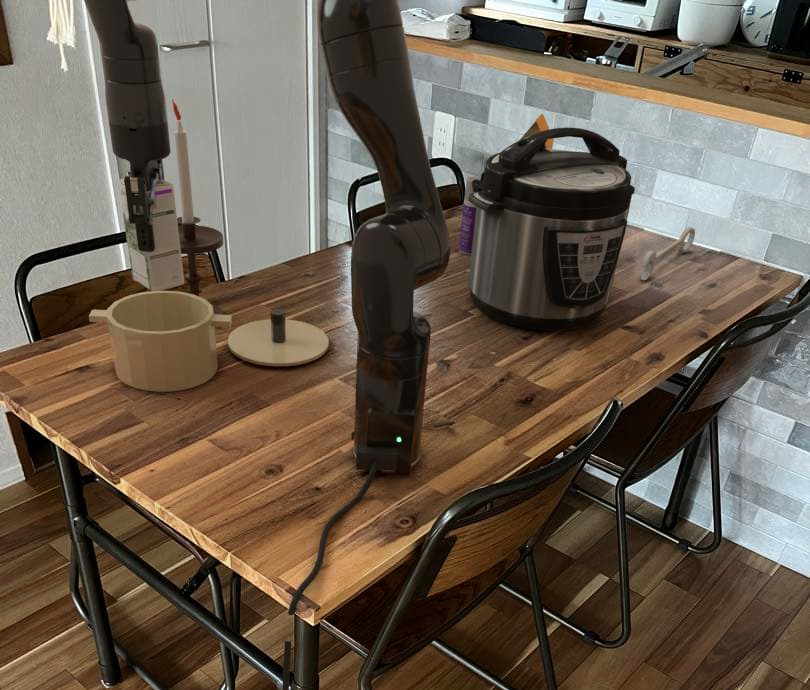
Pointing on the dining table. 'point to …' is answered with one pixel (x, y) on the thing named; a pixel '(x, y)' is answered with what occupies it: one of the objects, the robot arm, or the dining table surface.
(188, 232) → the candlestick
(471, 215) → the container
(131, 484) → the dining table surface
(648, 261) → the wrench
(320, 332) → the lid
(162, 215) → the syrup box
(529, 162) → the pressure cooker
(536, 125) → the orange juice
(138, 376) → the pot
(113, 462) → the dining table surface
